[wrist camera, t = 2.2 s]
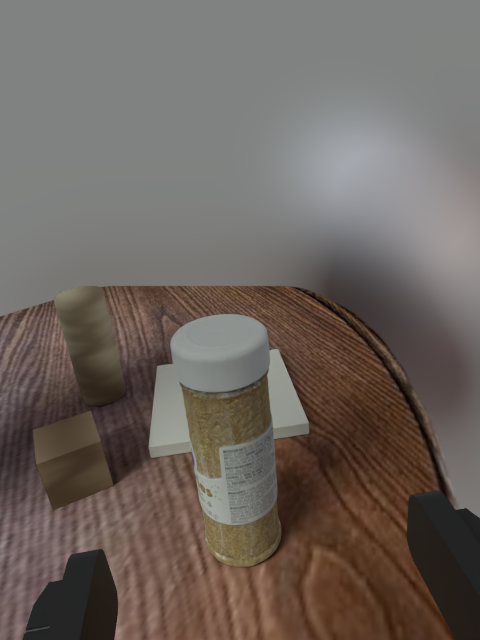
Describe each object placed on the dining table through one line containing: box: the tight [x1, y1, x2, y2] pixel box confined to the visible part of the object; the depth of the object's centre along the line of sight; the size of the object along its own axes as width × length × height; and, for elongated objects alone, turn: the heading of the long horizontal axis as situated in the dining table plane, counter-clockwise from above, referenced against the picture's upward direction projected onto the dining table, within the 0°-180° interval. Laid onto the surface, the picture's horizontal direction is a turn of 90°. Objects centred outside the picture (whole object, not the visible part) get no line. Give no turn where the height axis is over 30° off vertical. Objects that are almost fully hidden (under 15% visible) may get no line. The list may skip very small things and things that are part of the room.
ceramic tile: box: [148, 349, 309, 458], centre depth 38 cm, size 12×12×1 cm
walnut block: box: [33, 411, 114, 510], centre depth 31 cm, size 4×4×4 cm
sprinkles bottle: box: [170, 314, 282, 567], centre depth 23 cm, size 5×5×14 cm
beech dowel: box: [54, 286, 126, 406], centre depth 40 cm, size 4×4×10 cm
